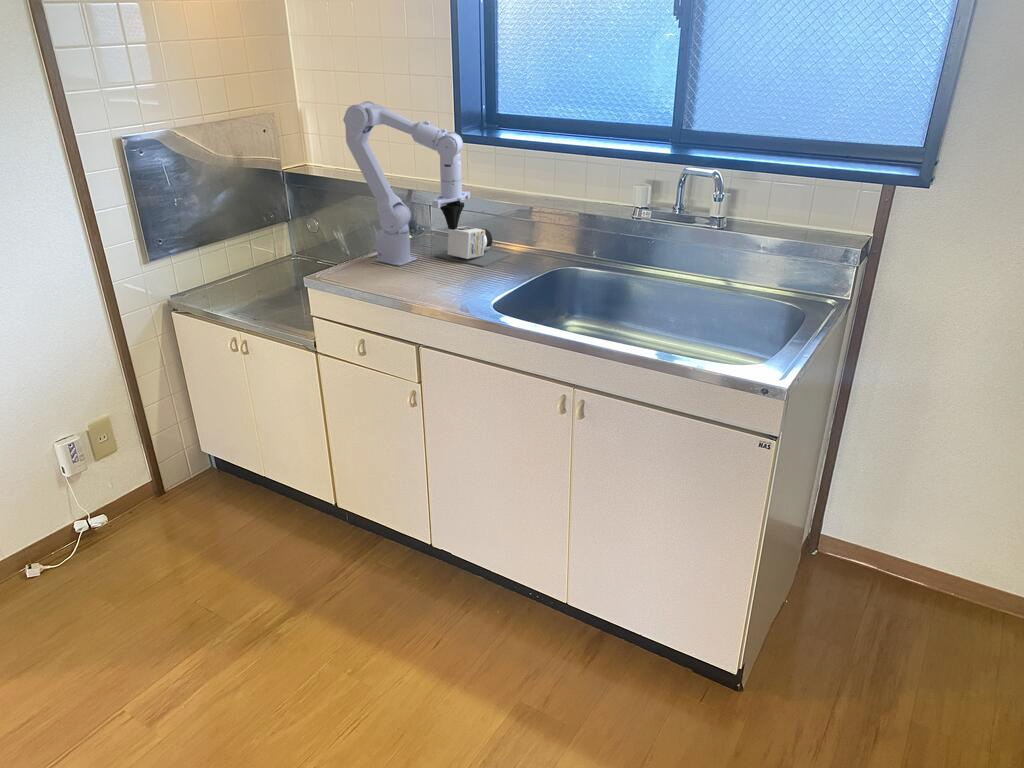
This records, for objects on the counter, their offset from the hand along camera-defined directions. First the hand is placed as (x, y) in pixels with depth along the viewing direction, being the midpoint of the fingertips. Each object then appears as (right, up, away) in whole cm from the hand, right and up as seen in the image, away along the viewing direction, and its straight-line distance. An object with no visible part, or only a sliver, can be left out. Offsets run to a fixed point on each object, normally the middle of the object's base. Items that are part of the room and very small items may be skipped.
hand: (452, 228), depth 217 cm
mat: (+5, -6, +12) cm, 14 cm away
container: (+1, -3, +5) cm, 6 cm away
